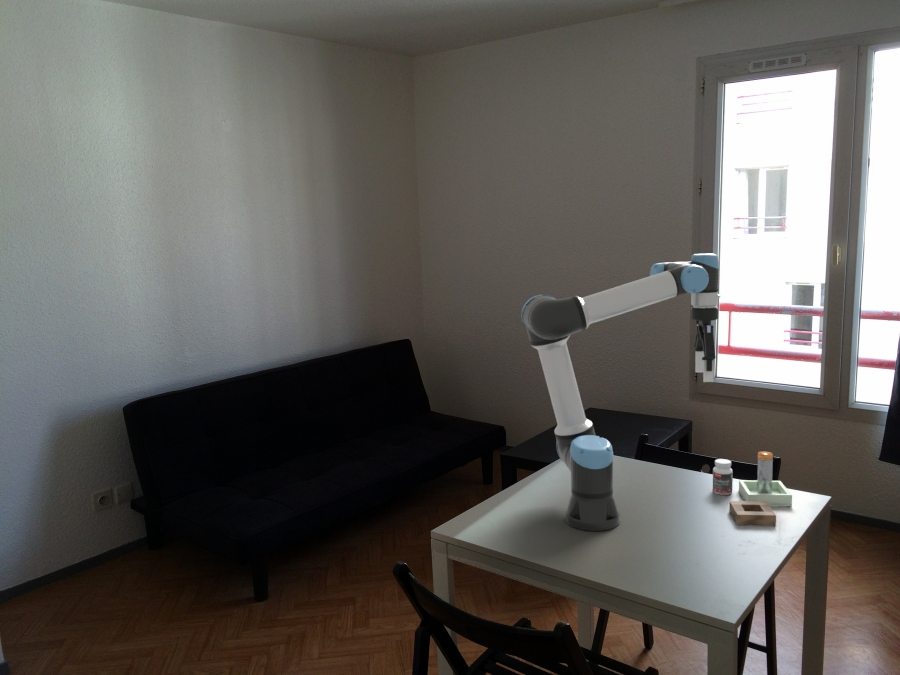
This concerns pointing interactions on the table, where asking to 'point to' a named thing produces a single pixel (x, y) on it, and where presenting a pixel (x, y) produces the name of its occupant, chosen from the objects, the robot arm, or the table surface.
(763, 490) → the pin
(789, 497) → the tray
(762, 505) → the socket
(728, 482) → the pill bottle
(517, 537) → the table surface
